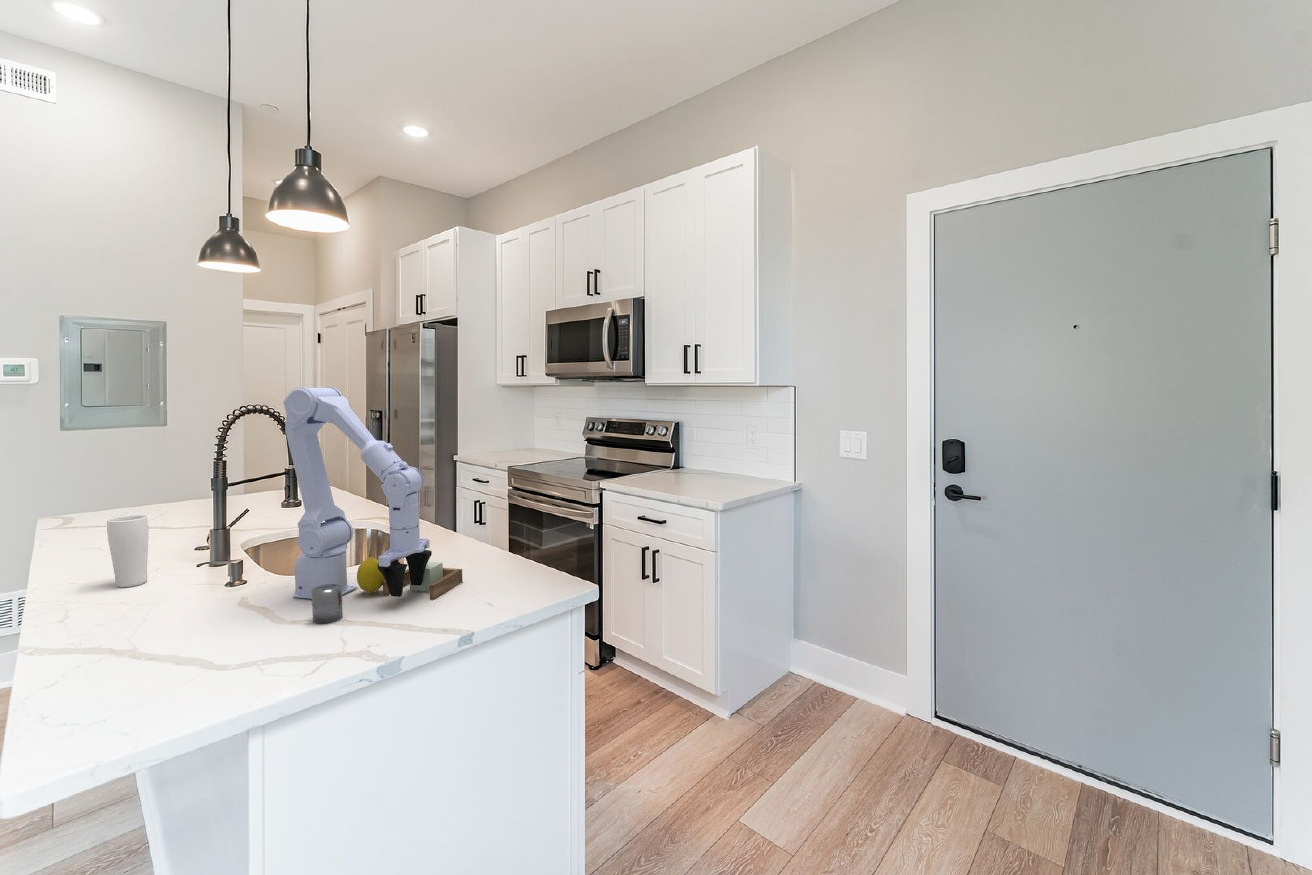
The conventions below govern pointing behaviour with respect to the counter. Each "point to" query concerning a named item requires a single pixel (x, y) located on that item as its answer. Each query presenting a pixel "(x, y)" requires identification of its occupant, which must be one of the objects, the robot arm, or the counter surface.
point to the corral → (437, 588)
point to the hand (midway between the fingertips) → (406, 590)
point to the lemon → (370, 575)
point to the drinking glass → (129, 549)
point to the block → (429, 576)
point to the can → (327, 604)
